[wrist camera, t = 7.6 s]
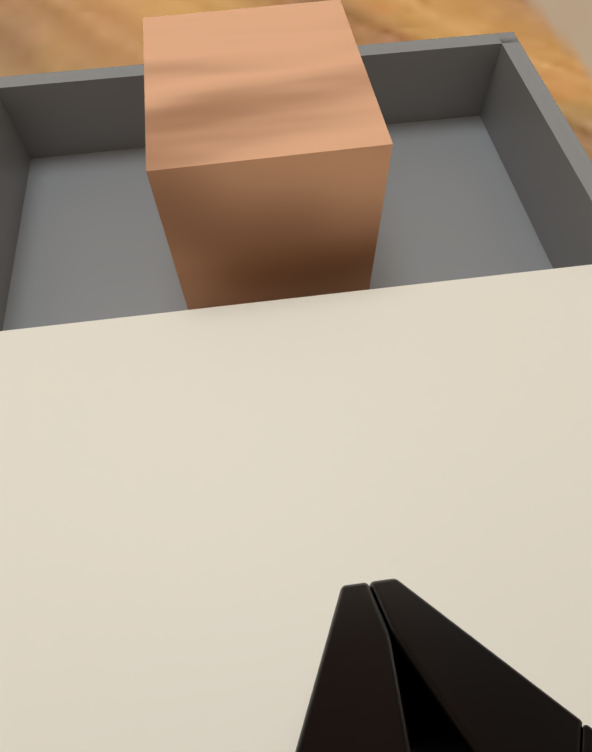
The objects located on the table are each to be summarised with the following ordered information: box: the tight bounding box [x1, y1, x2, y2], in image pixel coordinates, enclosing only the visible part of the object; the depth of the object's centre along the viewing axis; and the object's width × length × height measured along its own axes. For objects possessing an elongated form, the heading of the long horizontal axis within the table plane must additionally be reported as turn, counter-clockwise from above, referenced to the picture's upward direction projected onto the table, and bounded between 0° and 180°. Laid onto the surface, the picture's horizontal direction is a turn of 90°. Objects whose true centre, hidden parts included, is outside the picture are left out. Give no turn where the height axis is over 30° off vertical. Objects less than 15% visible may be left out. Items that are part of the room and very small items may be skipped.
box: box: [0, 32, 592, 331], centre depth 23 cm, size 13×24×4 cm, turn 98°
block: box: [143, 0, 393, 310], centre depth 20 cm, size 7×7×8 cm
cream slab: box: [0, 264, 592, 752], centre depth 16 cm, size 14×22×3 cm, turn 98°
